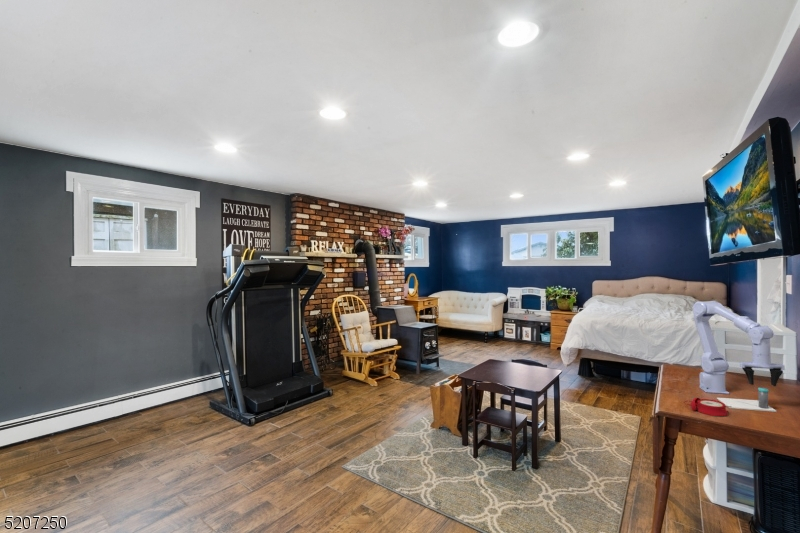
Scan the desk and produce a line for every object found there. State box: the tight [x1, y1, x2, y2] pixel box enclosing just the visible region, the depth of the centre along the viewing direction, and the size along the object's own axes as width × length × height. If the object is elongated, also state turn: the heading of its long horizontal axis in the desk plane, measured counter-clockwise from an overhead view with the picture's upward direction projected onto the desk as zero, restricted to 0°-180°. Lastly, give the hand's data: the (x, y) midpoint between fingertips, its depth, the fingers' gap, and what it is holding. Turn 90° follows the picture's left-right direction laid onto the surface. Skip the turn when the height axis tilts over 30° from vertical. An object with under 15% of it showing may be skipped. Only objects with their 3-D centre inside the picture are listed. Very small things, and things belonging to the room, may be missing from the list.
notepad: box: [716, 397, 777, 413], centre depth 165 cm, size 16×12×1 cm
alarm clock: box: [683, 397, 731, 417], centre depth 161 cm, size 10×6×15 cm
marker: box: [757, 387, 769, 409], centre depth 161 cm, size 3×3×8 cm
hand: (762, 384), depth 163 cm, fingers open, 7 cm apart
